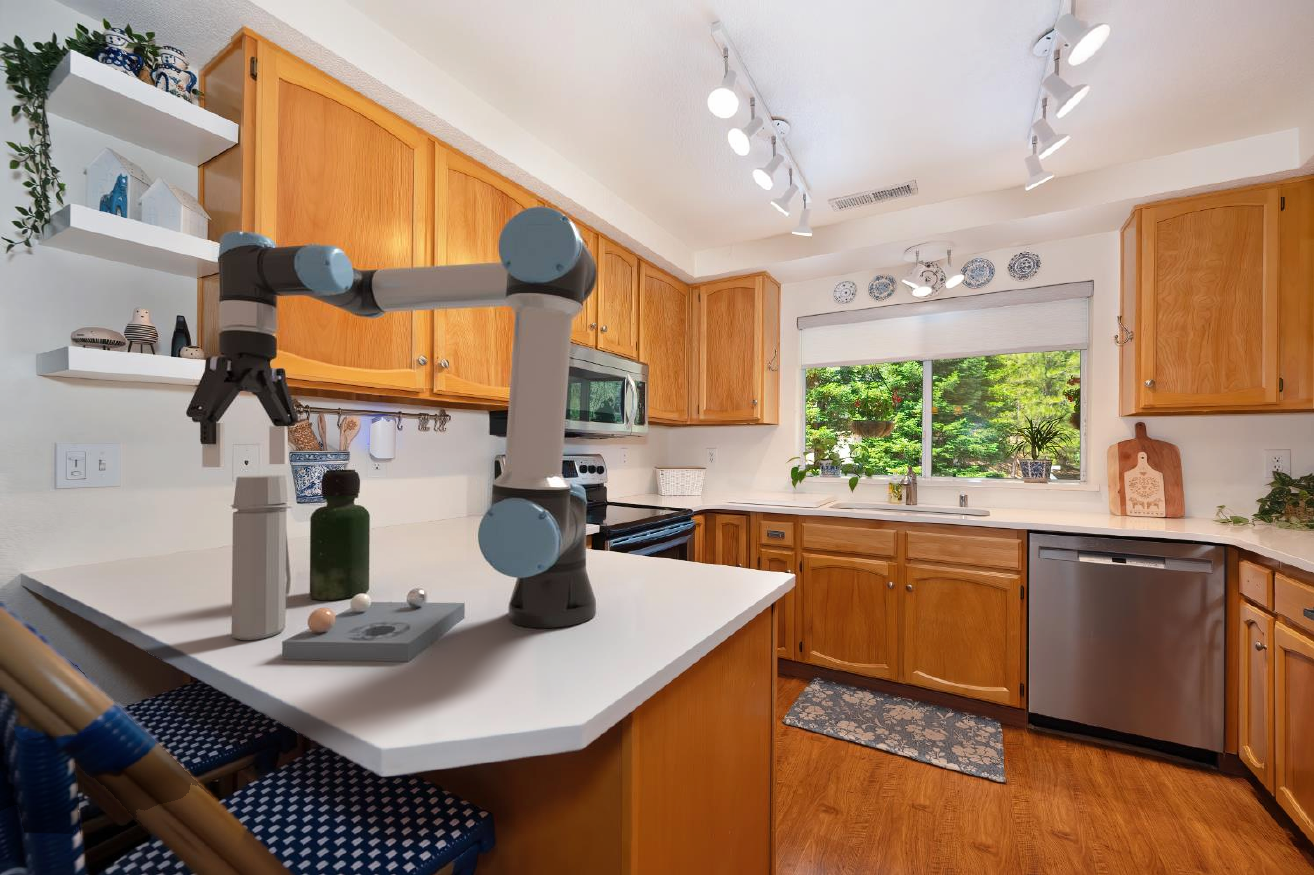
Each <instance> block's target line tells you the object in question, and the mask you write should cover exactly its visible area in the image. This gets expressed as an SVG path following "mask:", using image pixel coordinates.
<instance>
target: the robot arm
mask: <svg viewBox="0 0 1314 875" xmlns="http://www.w3.org/2000/svg"><path fill="white" fill-rule="evenodd" d="M497 245H498V249H497V250H498V254H499V259H500V261H501V262H499V261H497V262H482V263H467V264H466V263H465V264H448V265H447V264H446V265H431V266H430V265H429V266H416V267H415V266H413V267H398V268H395V267H394V268H381V269H365V270H361V269H357V268H355V267H353V264H352V262H351V260H350V258H349V257H348V256H346V253H345V251H344V250H343V249H341V248H339V247H338V246H335V245H327V244H325V245H324V244H323V245H322V244H317V243H314V244H310V243H309V244H308V245H294V246H293V245H292V246H277V244H276V243H275V241H274V240H273V239H271V238H270V237H268V236H265V235H263V234H259V233H255V232H251V231H248V232H245V231H241V230H238V231H237V230H234V231H233V230H232V231H228V232H225V233H224V234H222V235H221V236H220V240H219V247H218V248H219V249H218V256H217V263H218V286H219V287H218V288H219V289H218V290H219V291H218V292H219V293H218V294H219V297H218V301H219V302H218V303H219V316H218V317H219V319H218V320H219V328H220V329H222V331H220V332H219V333H218V353H219V354H220V355H221V356H207V357H206V358H205V364H204V371H203V372H202V375H201V378H200V379H199V383H198V384H197V387H196V389H195V391H194V394H193V396H192V398H191V400H190V402H189V405H188V407H187V410H186V412H185V413H186V416H187V417H189V418H191V420H192V422H193V423H199V424H200V425H199V432H200V433H199V435H200V436H199V441H200V444H201V445H202V450H201V451H202V452H201V454H202V459H201V460H202V464H201V466H202V468H224V467H225V422H219V421H220V419H221V418H222V417H223V415H224V414H225V413H226V411H227V410H228V409H229V408H230V406H231V404H232V403H233V402H234V401H235V399H236V398H237V396H238V395H239V393H240V392H242V391H244V392H248V393H251V394H252V395H255V396H256V397H257V399H258V401H259V403H260V404H261V405H262V408H263V409H264V410H265V413H266V414H267V416H268V417H269V419H270V422H271V423H272V425H273V426H272V425H270V426H269V427H268V429H269V431H268V432H269V433H268V434H269V435H268V436H269V438H268V441H269V442H268V443H269V444H268V445H269V447H268V450H269V451H268V452H269V454H268V455H269V456H268V457H269V458H268V459H269V460H268V461H269V462H268V463H269V465H288V464H289V459H288V458H289V455H288V454H289V432H290V430H289V428H290V427H294V426H295V425H296V424H297V423H298V422H299V417H298V414H297V411H296V407H295V405H294V401H293V398H292V395H291V392H290V389H289V386H288V383H287V377H286V370H285V368H283V367H279V368H278V367H276V368H275V367H274V368H273V367H272V366H271V361H273V360H275V359H276V358H277V357H278V350H277V349H278V344H277V343H278V339H277V338H276V336H275V334H277V333H278V309H277V305H278V297H287V296H288V297H291V296H305V297H310V298H313V299H314V300H317V301H320V302H323V303H325V304H328V305H331V306H334V307H336V308H339V309H341V310H344V311H346V312H349V313H350V314H352V315H354V316H357V317H361V318H363V317H364V318H368V319H378V318H379V317H381V316H383V315H384V314H386V313H393V312H408V311H409V312H412V311H415V312H416V311H431V310H435V311H436V310H447V309H448V310H454V309H472V308H494V307H509V308H511V310H512V311H513V312H514V323H513V324H514V327H513V340H512V353H511V354H512V356H511V369H510V383H509V397H508V411H507V427H506V440H505V441H506V442H505V454H504V468H503V471H502V473H501V474H500V475H498V476H497V477H496V478H495V479H494V480H493V481H492V487H491V488H492V490H491V491H492V492H491V502H490V504H491V505H490V508H488V510H487V511H486V512H485V513H484V514H483V516H482V518H481V520H480V523H479V526H478V529H477V530H478V532H477V541H478V546H479V549H480V552H481V555H482V556H483V558H484V559H485V561H486V562H487V563H488V564H489V565H490V566H491V567H492V568H493V570H496V571H497V572H498V573H500V574H502V575H504V576H507V577H510V578H516V581H515V584H514V587H513V590H512V594H511V597H510V600H509V602H508V607H507V608H508V612H507V613H508V614H507V615H508V617H507V618H508V621H510V622H511V623H513V624H515V625H518V626H521V627H528V628H538V629H539V628H540V629H542V628H543V629H545V628H546V629H548V628H549V629H550V628H551V629H552V628H560V627H562V628H563V627H568V626H575V625H577V624H581V623H584V622H587V621H590V620H591V619H593V618H594V617H595V616H596V614H597V600H596V597H595V593H594V591H593V587H592V584H591V581H590V578H589V575H588V571H587V506H588V500H587V495H586V494H587V493H586V489H585V488H584V487H583V486H582V485H580V484H577V483H576V484H575V483H569V481H568V480H566V478H565V477H564V476H563V473H562V472H563V458H564V446H565V445H564V443H565V428H566V414H567V401H568V400H567V399H568V384H569V373H570V372H569V371H570V358H571V356H570V355H571V343H572V329H573V328H572V327H573V320H574V318H575V317H577V316H578V315H579V314H580V313H582V312H583V311H584V310H583V309H584V302H586V300H588V299H589V297H590V296H591V294H592V293H593V291H594V289H595V287H596V283H597V278H598V277H597V276H598V270H597V269H598V268H597V264H596V261H595V258H594V256H593V254H592V252H591V250H590V249H588V246H587V245H586V243H585V241H584V240H583V237H582V233H581V232H580V230H579V228H578V227H577V225H576V224H575V223H574V222H573V221H572V220H571V219H570V218H569V217H568V216H567V215H565V214H564V213H563V212H561V211H559V210H558V209H555V208H552V207H548V206H547V207H546V206H533V207H529V208H526V209H523V210H520V211H519V212H517V213H516V214H515V215H514V216H513V217H512V218H510V219H508V221H507V222H506V224H504V226H503V228H502V229H501V233H500V235H499V239H498V244H497Z"/></svg>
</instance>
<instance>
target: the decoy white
mask: <svg viewBox="0 0 1314 875" xmlns="http://www.w3.org/2000/svg"><path fill="white" fill-rule="evenodd" d="M371 602H372V600H371V597H370V596H369V595H368V594H366V593H364V594H357V595H356V596H354V597H352V598H351V600H350V608H352V610H353V611H355V612H358V613H361V612H364V611H366V610H367V609H368V608H369V607H370V605H371Z"/></svg>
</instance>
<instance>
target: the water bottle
mask: <svg viewBox="0 0 1314 875" xmlns="http://www.w3.org/2000/svg"><path fill="white" fill-rule="evenodd" d="M286 476H287V475H281V474H280V475H279V474H276V475H275V474H274V475H272V474H271V475H269V474H267V475H264V474H263V475H244V476H243V475H241V476H237V477H236V480H235V481H236V482H235V488H234V497H233V504H231V505H230V506H231V507H232V509H233V510H235V511H234V512H232V557H231V558H232V559H231V560H232V562H231V564H232V565H231V566H232V567H231V570H232V571H231V577H232V578H231V585H232V586H231V636H232V637H233V638H234V639H236V640H240V641H256V640H262V639H268V638H271V637H274V636H276V635H278V634H279V633H282V632H283V631H284V630H285V629H286V615H287V614H286V612H287V611H286V605H287V604H286V601H287V600H286V597H287V596H289V595H290V590H291V583H292V582H291V581H292V577H291V567H290V566H291V565H290V555H289V544H288V533H287V532H288V531H287V511H288V509H292V506H290V505H288V503H289V497H288V488H287V486H288V485H287V477H286Z"/></svg>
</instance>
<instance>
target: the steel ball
mask: <svg viewBox="0 0 1314 875" xmlns="http://www.w3.org/2000/svg"><path fill="white" fill-rule="evenodd" d="M427 600H428V594H427V591H426V590H424V589H423V588H420V587H419V588H418V587H417V588H416V587H415V588H412V589H411V590H410V591H409V592H408V594H407V596H406V602H407V603H408V604H409V605H410V606H411V607H413V608H419V607H421V606H423V605H424V604H425V603H427Z"/></svg>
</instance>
